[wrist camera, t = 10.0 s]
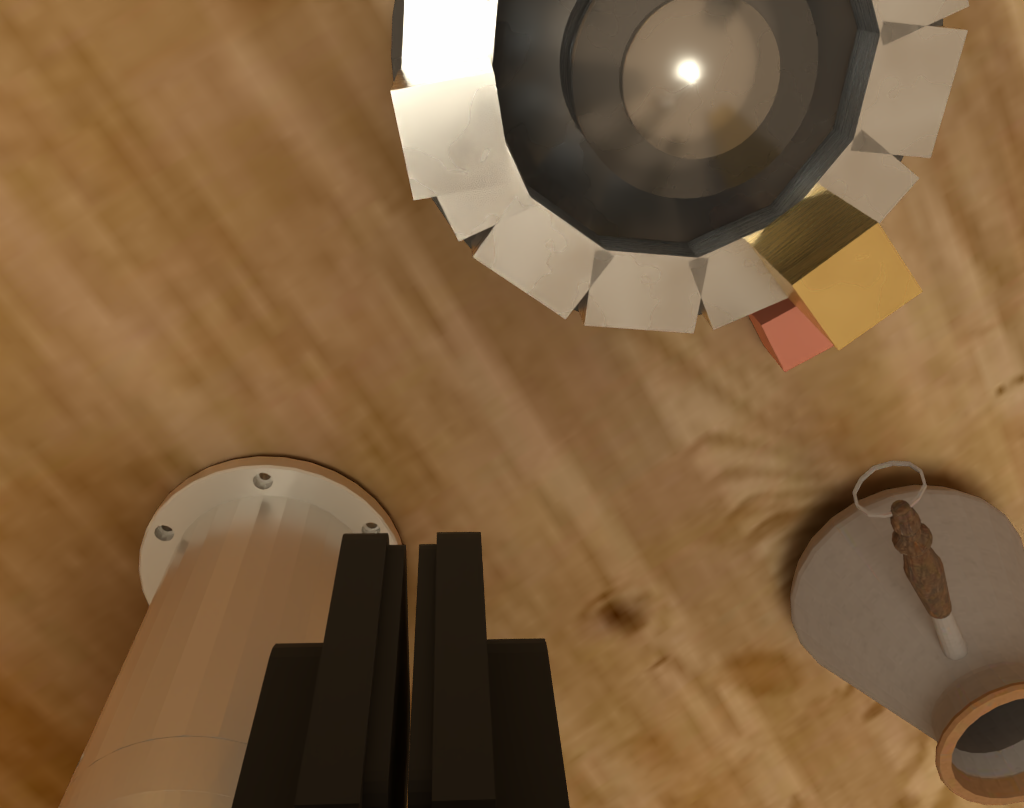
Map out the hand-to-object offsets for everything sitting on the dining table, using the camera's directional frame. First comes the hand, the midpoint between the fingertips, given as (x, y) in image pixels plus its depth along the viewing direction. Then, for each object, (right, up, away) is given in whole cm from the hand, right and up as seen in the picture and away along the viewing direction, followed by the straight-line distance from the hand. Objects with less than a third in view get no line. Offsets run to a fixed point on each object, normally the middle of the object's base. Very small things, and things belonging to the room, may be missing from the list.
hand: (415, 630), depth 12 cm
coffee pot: (+18, -1, +35) cm, 39 cm away
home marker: (+13, +7, +30) cm, 33 cm away
